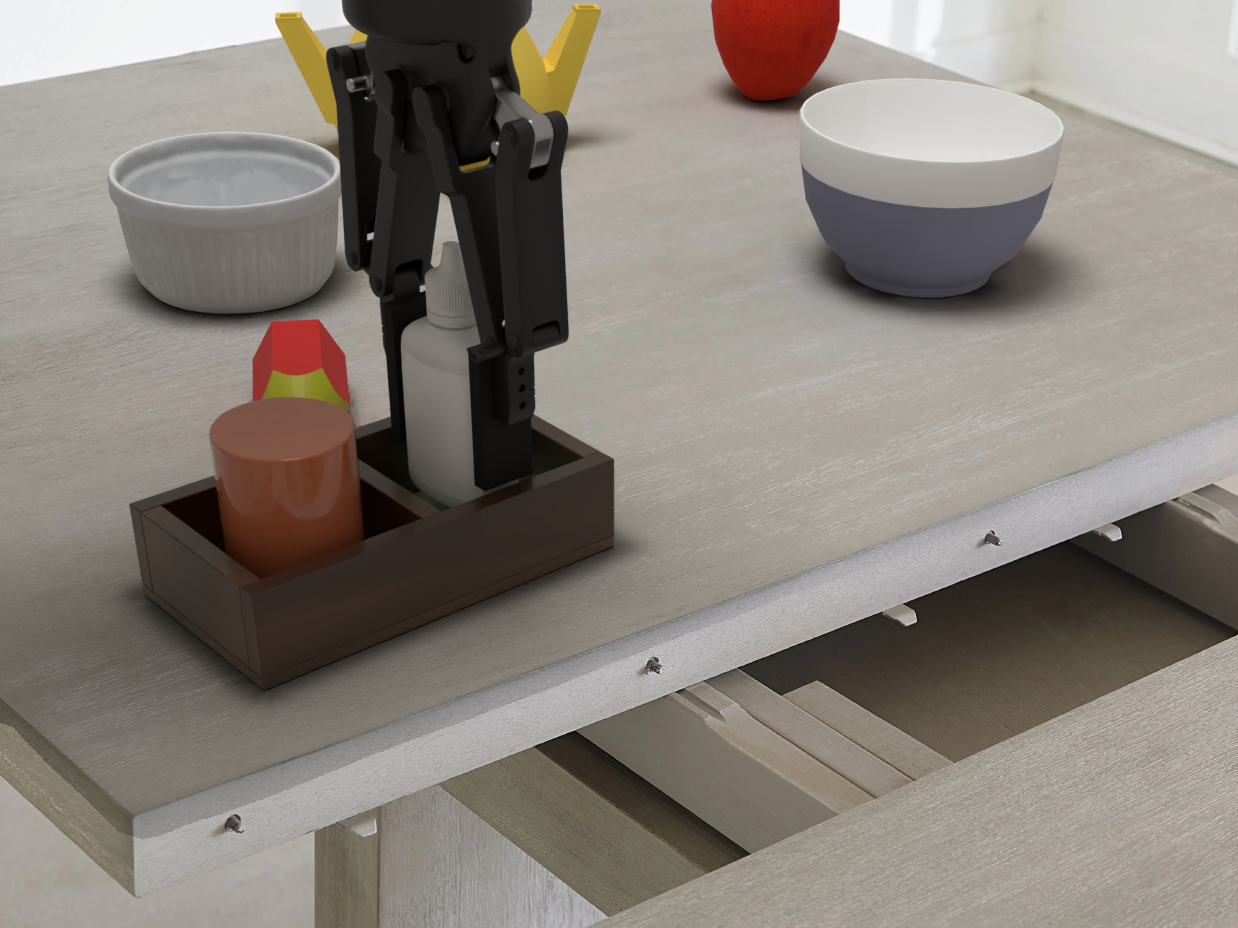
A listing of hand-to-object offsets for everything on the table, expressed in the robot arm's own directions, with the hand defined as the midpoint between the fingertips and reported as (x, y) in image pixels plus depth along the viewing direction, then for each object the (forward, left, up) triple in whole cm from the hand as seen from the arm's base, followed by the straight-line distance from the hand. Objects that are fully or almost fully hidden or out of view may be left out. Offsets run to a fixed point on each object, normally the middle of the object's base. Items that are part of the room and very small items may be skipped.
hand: (461, 452), depth 88 cm
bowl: (-10, +42, -5) cm, 43 cm away
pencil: (-13, -1, -5) cm, 14 cm away
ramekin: (-34, +8, -5) cm, 35 cm away
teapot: (-46, +32, -5) cm, 56 cm away
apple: (-41, +59, -5) cm, 72 cm away
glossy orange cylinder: (0, -9, -4) cm, 10 cm away
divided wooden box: (0, -5, -5) cm, 6 cm away
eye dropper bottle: (0, 0, -2) cm, 2 cm away
